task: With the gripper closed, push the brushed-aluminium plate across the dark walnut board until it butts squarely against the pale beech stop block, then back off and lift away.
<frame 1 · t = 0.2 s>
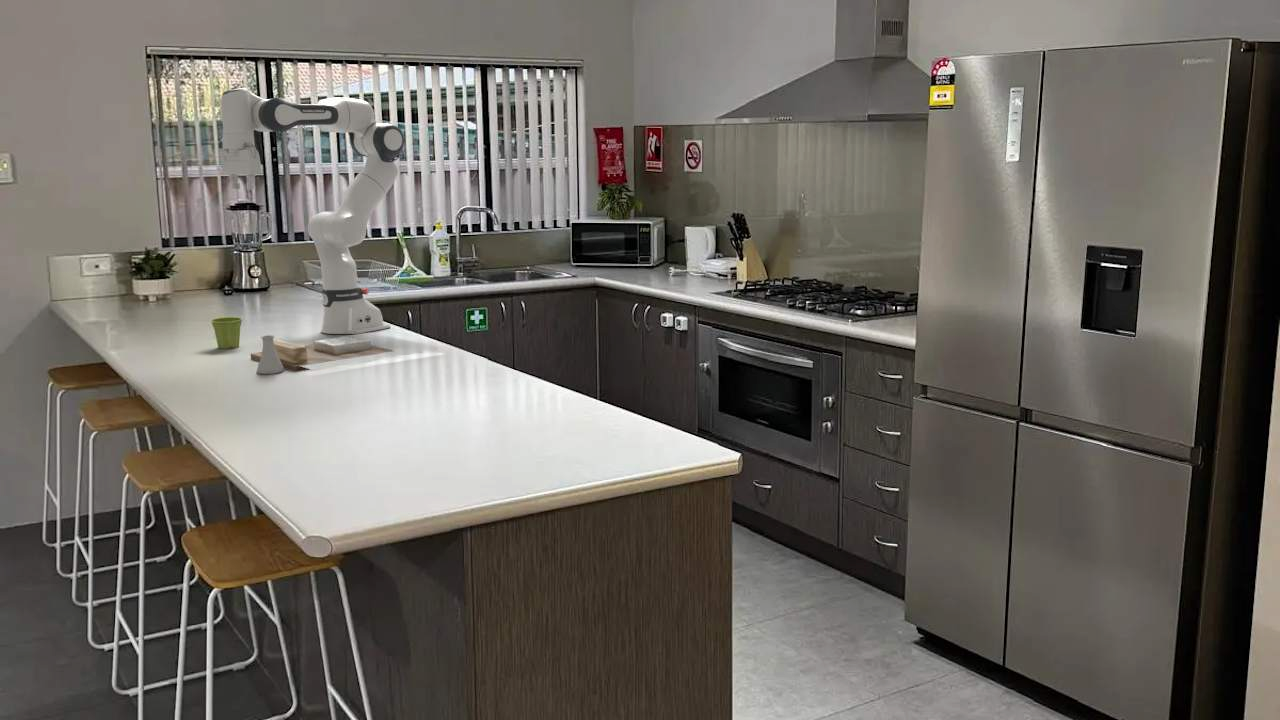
hand: (243, 189, 351), 48 cm above the counter, fingers open, 8 cm apart
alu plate: (343, 349, 339), point 1 cm above the counter, touching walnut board
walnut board: (323, 357, 335), on the counter
flask: (270, 373, 315), on the counter
beech stop: (285, 357, 327), resting on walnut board
plant pot: (229, 347, 355), on the counter
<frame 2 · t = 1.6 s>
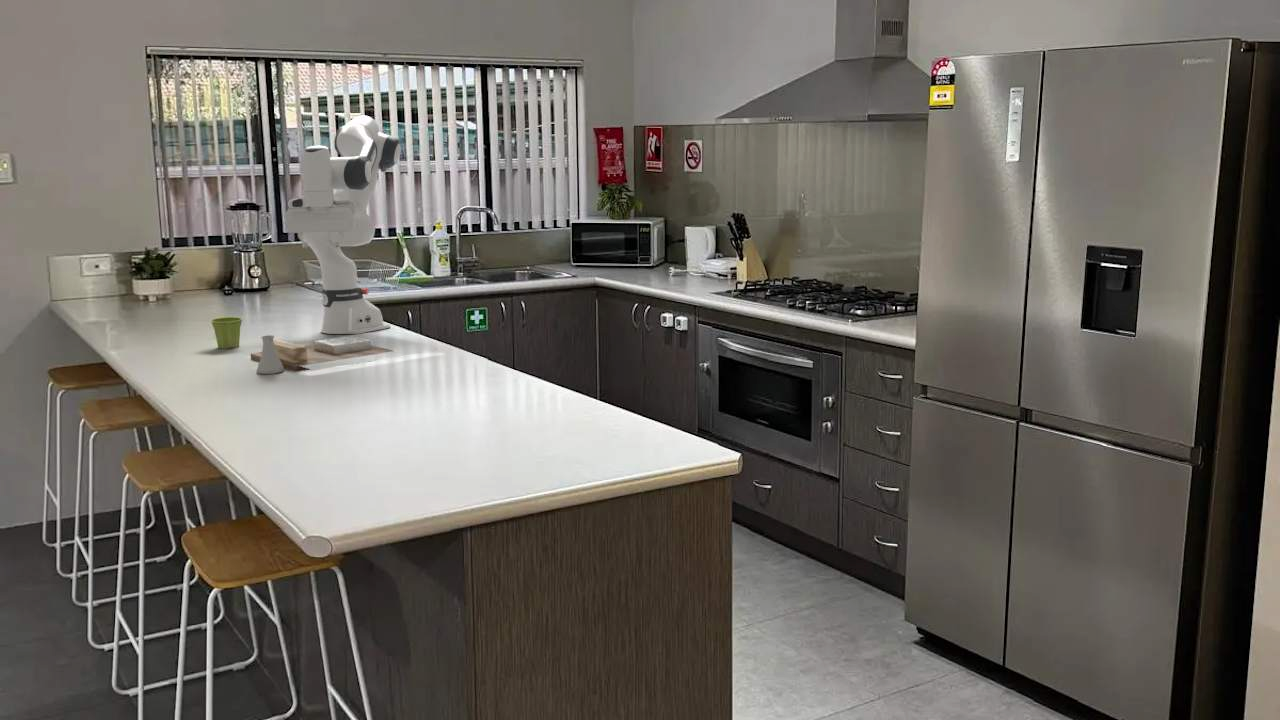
hand: (321, 247, 346), 30 cm above the counter, fingers open, 8 cm apart
nothing on the counter moved.
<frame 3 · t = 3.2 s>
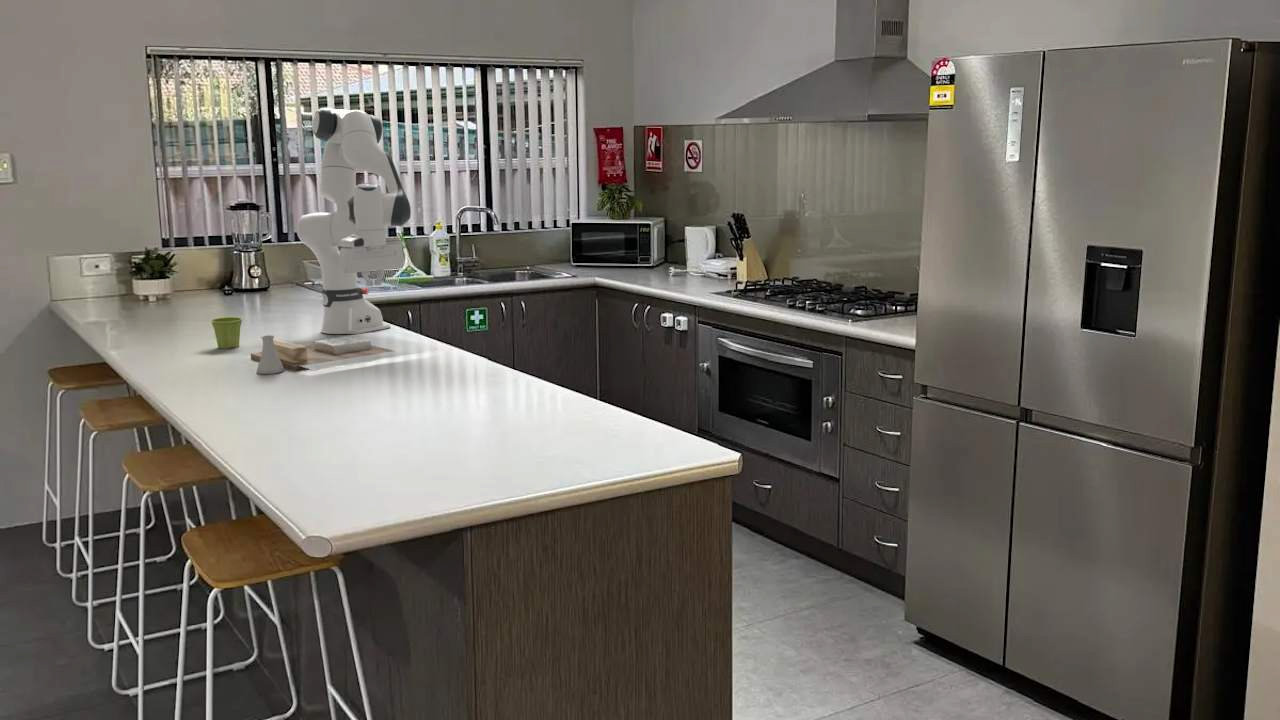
hand: (373, 285, 344), 19 cm above the counter, fingers closed
nothing on the counter moved.
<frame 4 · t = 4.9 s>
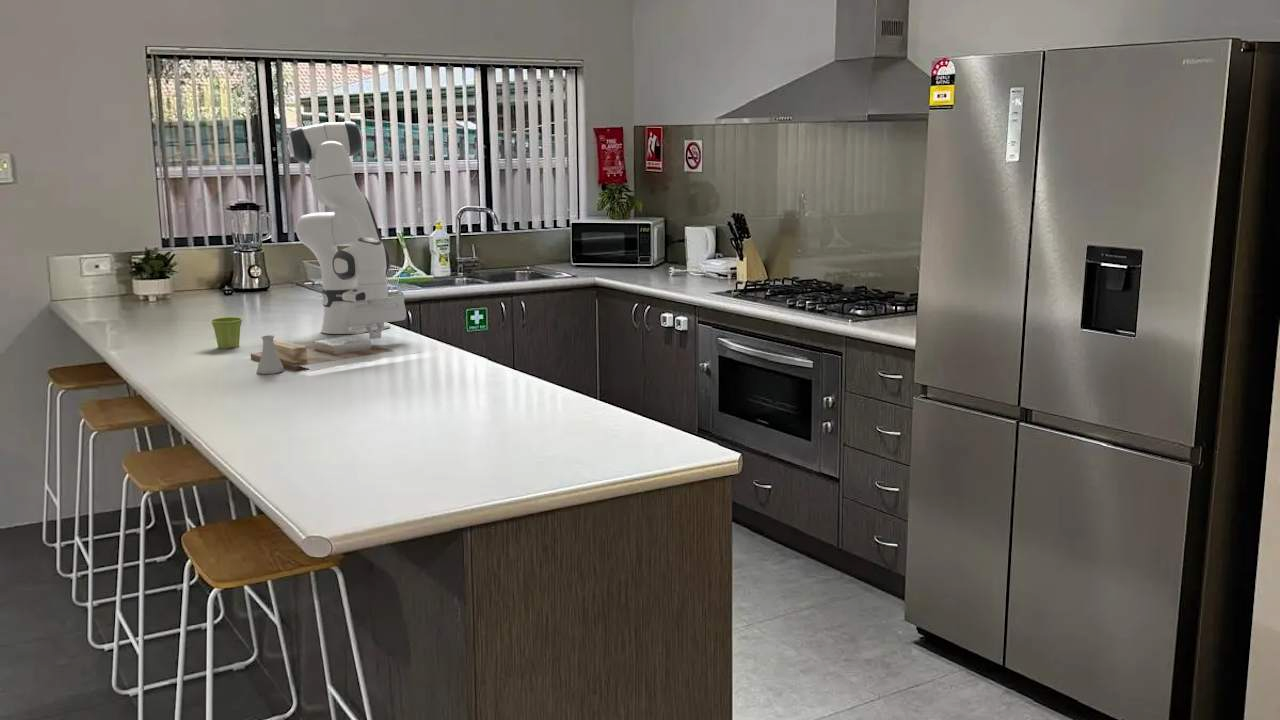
hand: (375, 338, 346), 3 cm above the counter, fingers closed
nothing on the counter moved.
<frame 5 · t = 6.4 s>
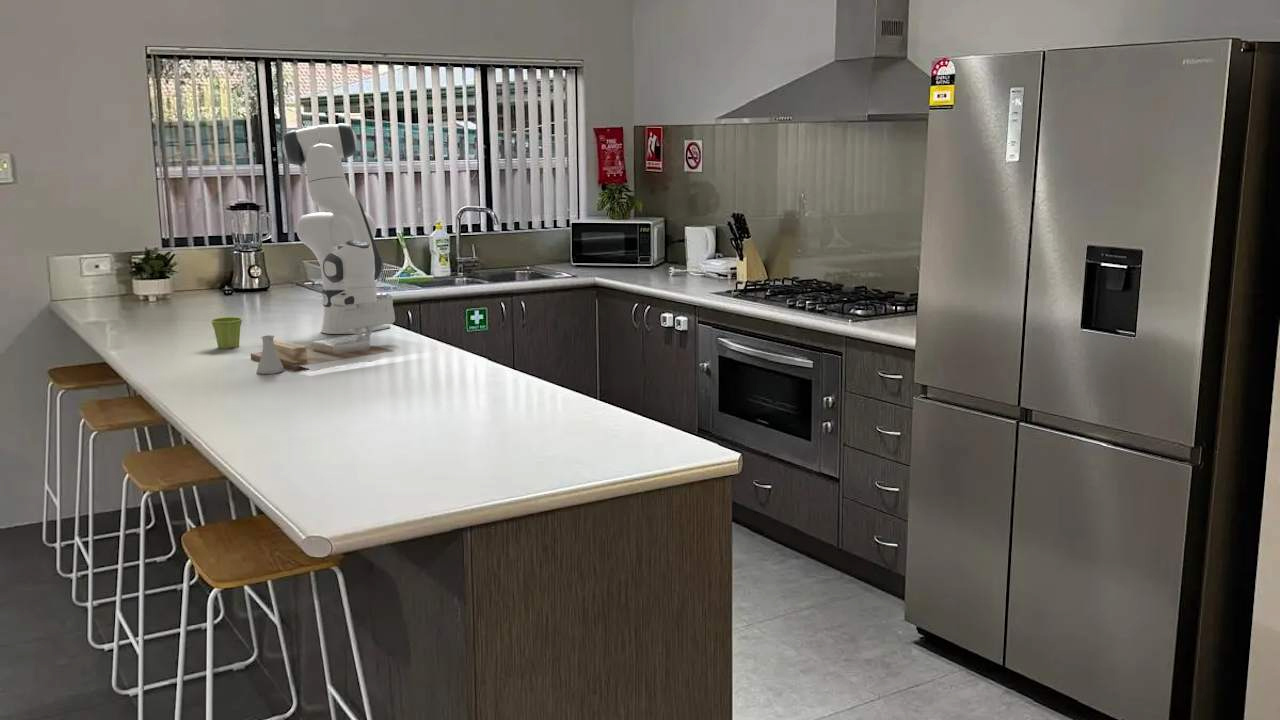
hand: (364, 342, 344), 3 cm above the counter, fingers closed
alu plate: (341, 349, 339), point 1 cm above the counter, touching gripper, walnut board
everything else where it was.
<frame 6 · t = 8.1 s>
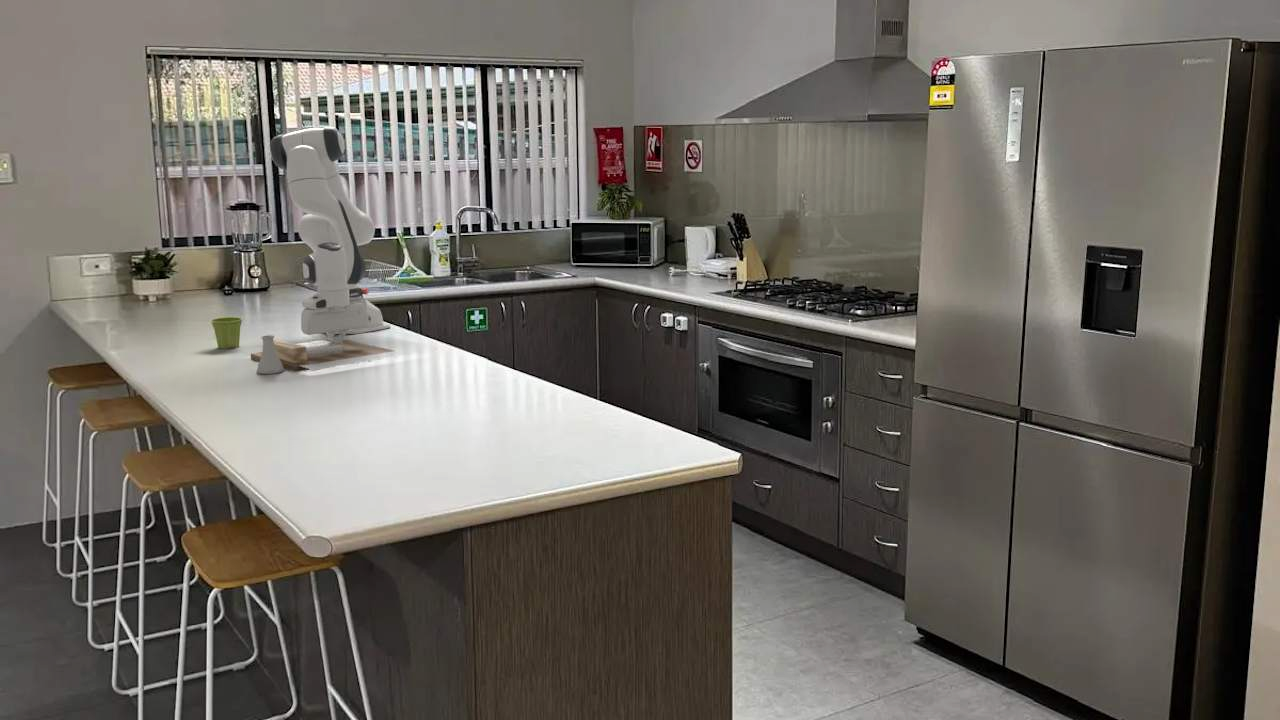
hand: (337, 346, 338), 3 cm above the counter, fingers closed
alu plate: (313, 353, 333), point 2 cm above the counter, touching gripper
everything else where it was.
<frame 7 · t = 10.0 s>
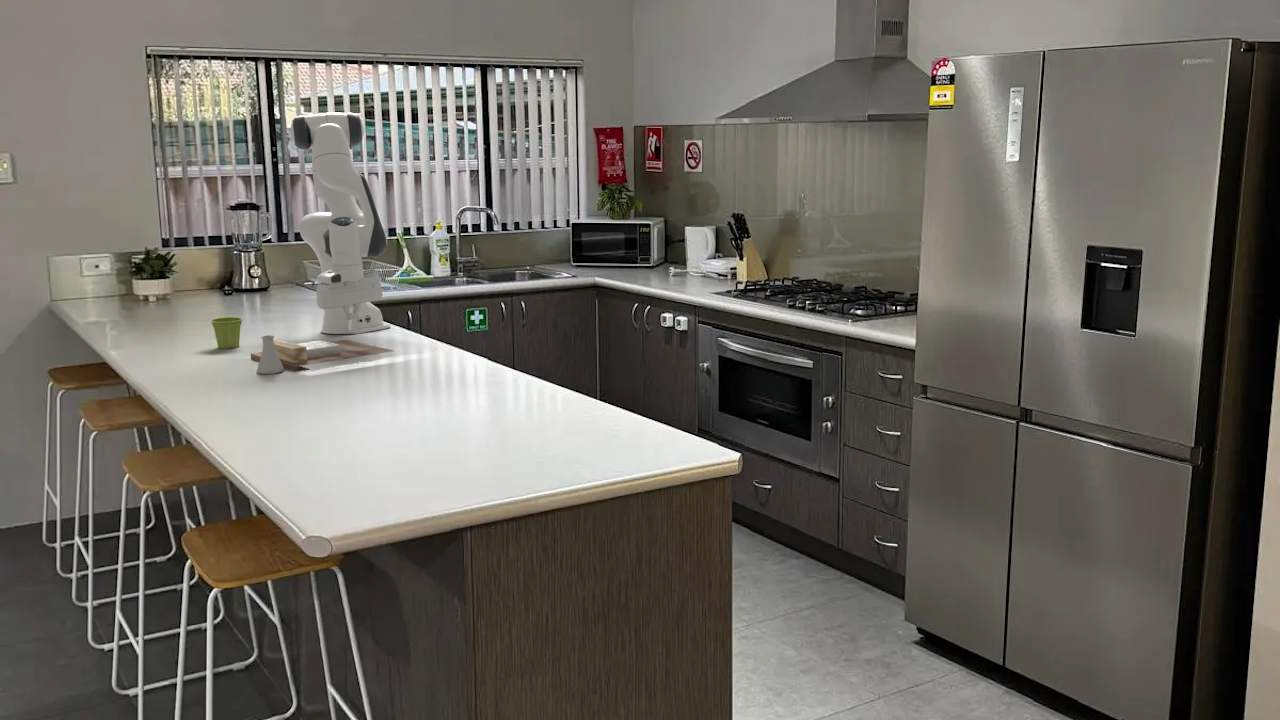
hand: (352, 319, 343), 10 cm above the counter, fingers closed
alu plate: (311, 353, 333), point 1 cm above the counter, touching beech stop, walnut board
everything else where it was.
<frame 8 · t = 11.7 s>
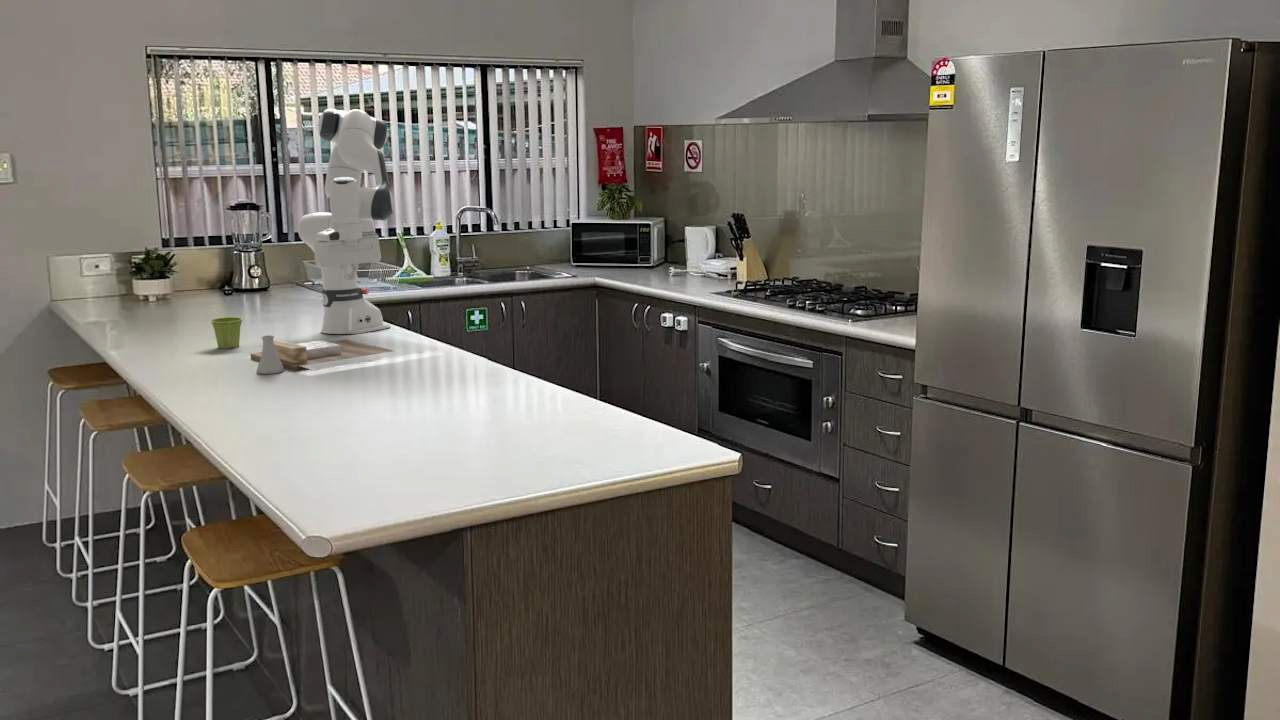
hand: (350, 279, 342), 21 cm above the counter, fingers closed
nothing on the counter moved.
at the end: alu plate inside the target area (0.2 cm from its centre), point 1.5 cm above the counter; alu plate moved 10.0 cm from its start; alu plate tilted 0° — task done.
